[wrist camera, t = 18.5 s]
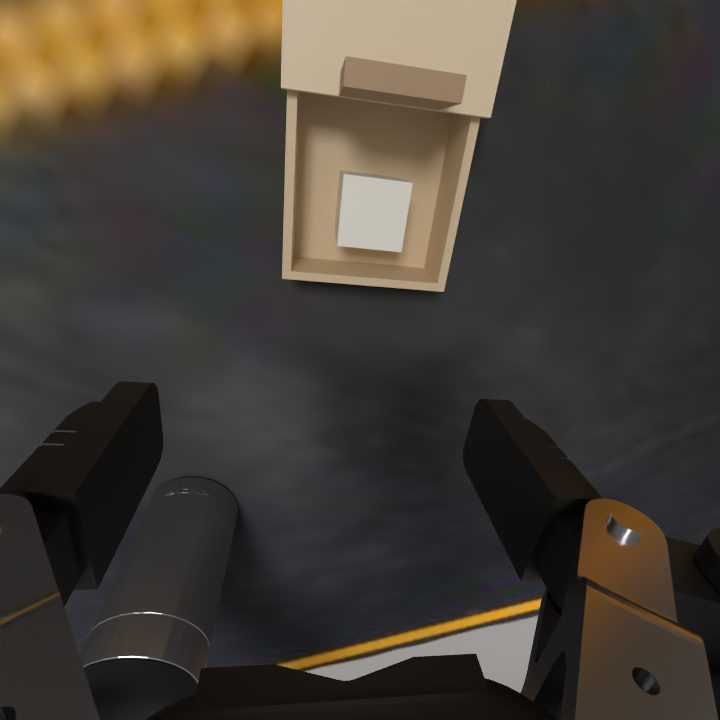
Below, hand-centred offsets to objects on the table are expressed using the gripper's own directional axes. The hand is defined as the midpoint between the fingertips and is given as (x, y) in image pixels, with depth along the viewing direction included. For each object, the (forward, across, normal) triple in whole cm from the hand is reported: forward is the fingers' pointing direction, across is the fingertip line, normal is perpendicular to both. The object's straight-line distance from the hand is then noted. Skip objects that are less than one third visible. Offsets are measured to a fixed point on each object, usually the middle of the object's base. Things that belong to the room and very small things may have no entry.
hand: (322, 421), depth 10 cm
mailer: (+25, -4, -7) cm, 27 cm away
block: (+25, -4, -3) cm, 25 cm away
